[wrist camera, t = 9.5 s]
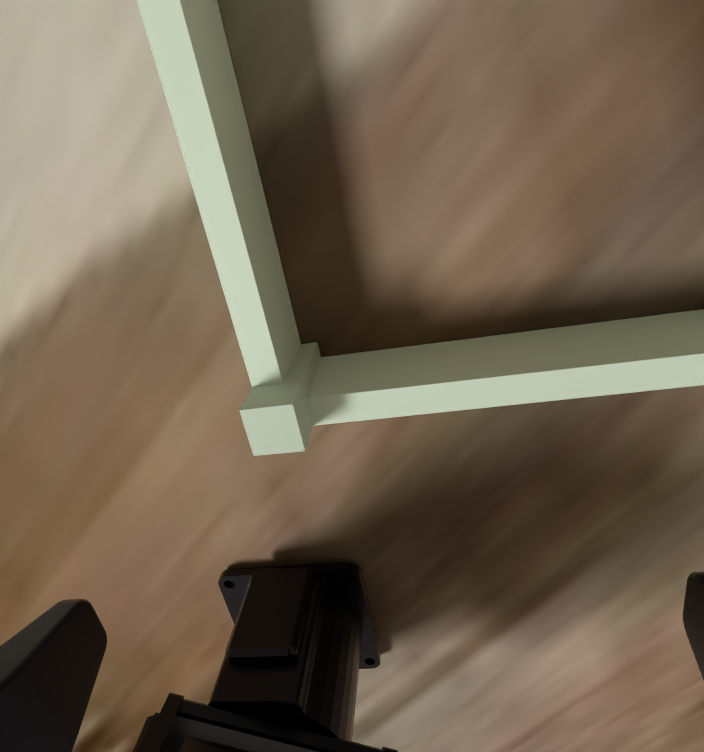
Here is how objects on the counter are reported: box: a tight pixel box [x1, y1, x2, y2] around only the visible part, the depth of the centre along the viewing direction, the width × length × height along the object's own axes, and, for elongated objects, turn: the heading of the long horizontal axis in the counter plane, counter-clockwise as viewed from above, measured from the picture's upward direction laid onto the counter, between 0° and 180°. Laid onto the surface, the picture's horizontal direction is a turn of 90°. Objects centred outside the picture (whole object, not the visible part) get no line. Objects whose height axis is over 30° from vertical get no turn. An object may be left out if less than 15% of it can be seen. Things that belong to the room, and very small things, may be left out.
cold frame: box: [137, 0, 704, 456], centre depth 13 cm, size 18×16×4 cm
